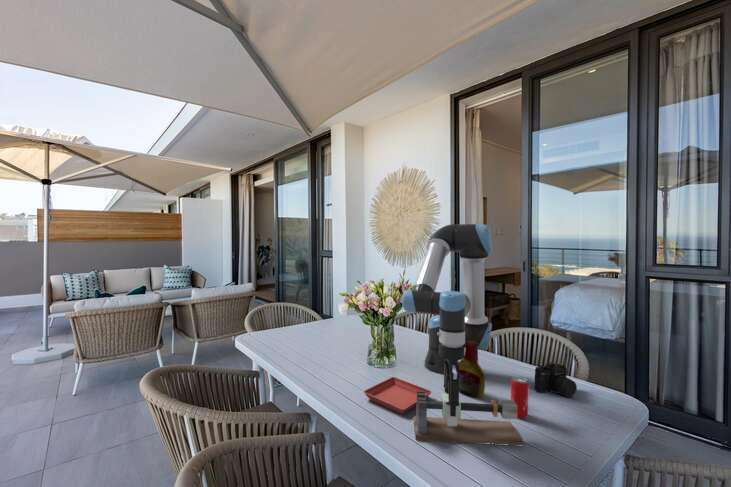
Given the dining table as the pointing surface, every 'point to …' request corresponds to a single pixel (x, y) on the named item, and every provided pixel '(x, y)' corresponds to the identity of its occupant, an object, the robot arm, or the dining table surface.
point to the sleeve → (444, 411)
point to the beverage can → (520, 395)
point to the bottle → (471, 372)
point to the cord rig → (467, 423)
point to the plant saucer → (395, 394)
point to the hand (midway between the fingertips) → (450, 419)
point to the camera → (554, 379)
